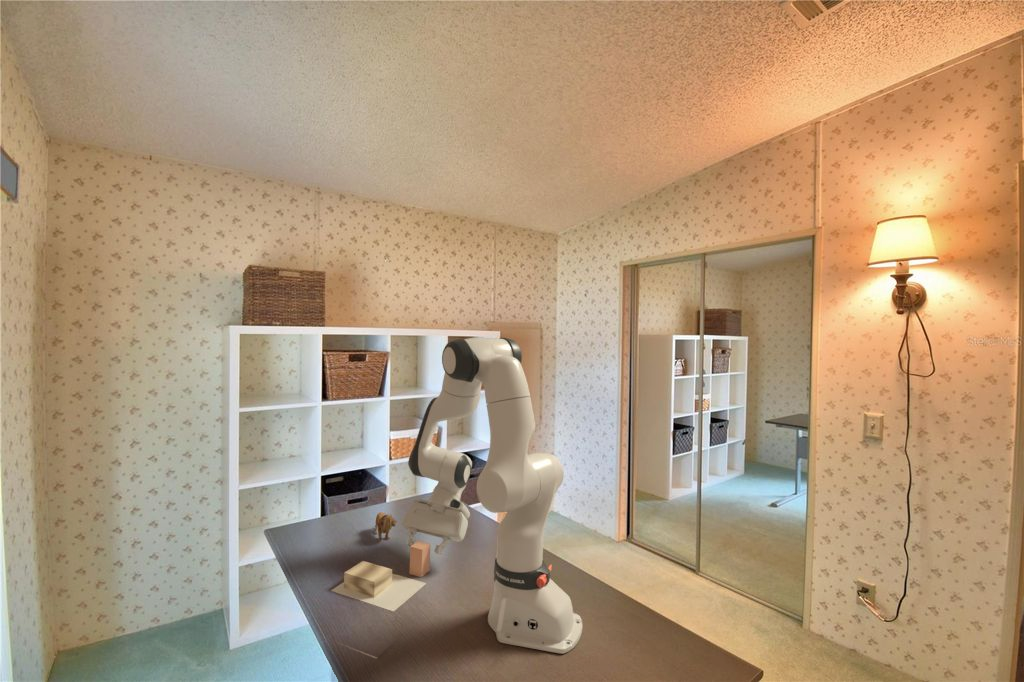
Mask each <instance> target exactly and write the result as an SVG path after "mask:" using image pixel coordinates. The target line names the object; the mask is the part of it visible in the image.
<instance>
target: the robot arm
mask: <svg viewBox="0 0 1024 682" xmlns="http://www.w3.org/2000/svg"><path fill="white" fill-rule="evenodd" d="M522 357H523V355H522V350H521V348H520V346H519V344H518V343H517V341H516V340H513V339H511V338H507V337H498V338H497V337H484V336H479V337H478V336H477V337H469V338H465V339H464V338H458V339H454V340H452V341H449V342H448V343H446V345H445V346H444V349H443V350H442V355H441V362H442V363H441V364H442V368H443V371H444V375H443V379H442V386H441V391H440V393H439V394H438V396H436V397H433V398H432V399H431V400H430V402H429V403H428V405H427V407H426V409H425V411H424V415H423V417H422V421H421V423H420V427H419V431H418V434H417V436H416V439H415V441H414V442H415V443H414V445H413V448H412V450H411V452H410V454H409V458H408V463H407V464H408V467H409V470H410V472H411V473H412V475H413V476H415V477H416V476H417V477H421V478H427V479H430V480H433V481H436V482H437V484H436V486H435V487H434V488H433V490H432V493H431V495H430V496H429V497H430V498H429V499H428V500H425V499H422V498H418V499H415V500H413V501H412V502H411V505H409V508H408V509H407V510H406V512H405V514H404V515H403V517H402V520H401V525H402V526H403V528H405V530H408V539H407V542H406V545H407V546H409V547H410V546H412V545H413V544H415V543H416V542H417V541H416V540H415V539H414V536H415V535H416V534H417V533H421V534H424V535H427V536H428V535H429V536H433V537H436V538H441V539H442V541H441V542H440V543H439V544H436V546H435V548H434V551H433V552H434V553H435V554H438V555H441V554H442V553H443V550H444V549H445V548H446V547H448V545H450V542H451V541H453V542H457V543H460V542H462V541H464V539H465V536H466V533H467V530H468V525H469V521H468V519H469V518H470V516H471V513H470V510H469V509H468V507H467V506H466V505H465V504H464V503H463V502H462V501H461V497H462V493H463V492H464V490H465V488H466V486H467V485H468V482H469V480H470V477H471V474H472V468H473V467H472V466H473V461H472V460H471V458H470V457H469V456H468V455H467V454H465V453H462V452H457V451H453V450H450V449H447V448H443V447H439V446H436V445H435V444H434V443H433V440H434V439H433V437H434V435H435V432H436V429H437V426H438V423H441V422H444V421H456V420H460V419H463V418H466V417H469V416H470V415H471V414H473V413H474V412H475V411H476V409H477V408H478V404H479V402H480V396H481V391H482V385H483V389H484V396H485V404H486V410H487V411H486V412H487V417H488V423H489V435H490V441H489V451H488V454H487V455H488V456H487V459H486V462H485V465H484V468H483V470H482V471H481V473H480V474H479V475H478V478H477V482H476V495H477V498H478V501H479V502H480V504H481V505H482V507H483V508H484V509H485V510H487V511H488V512H490V513H493V514H499V513H500V514H501V513H505V515H504V517H503V518H502V520H501V521H500V522H499V525H498V528H497V537H496V539H497V540H496V543H497V544H496V557H495V560H494V566H493V582H494V590H493V595H492V600H491V605H490V608H489V612H488V615H487V623H488V625H489V627H490V628H491V630H493V631H494V632H495V635H496V639H497V641H498V642H499V643H502V644H507V645H512V646H516V647H517V646H518V647H523V648H529V649H533V650H534V649H535V650H540V651H545V652H550V653H556V654H566V653H568V652H570V651H572V649H573V648H575V647H576V645H577V644H578V642H579V640H580V639H581V636H582V634H583V633H582V632H583V620H582V618H581V616H580V615H579V614H577V613H575V612H574V608H573V604H572V600H571V597H570V596H569V595H568V594H567V593H566V592H565V591H564V590H563V589H562V588H561V587H560V586H558V584H556V583H555V582H554V580H552V579H551V571H552V567H553V565H552V564H550V565H549V566H547V564H546V563H545V562H544V559H543V556H544V554H543V553H544V542H545V541H544V538H545V530H546V524H547V521H548V517H549V514H550V509H551V506H552V503H553V501H554V498H555V495H556V493H557V492H558V491H559V488H560V487H561V485H562V484H563V482H564V478H565V475H564V473H565V472H564V468H563V465H562V463H561V462H560V460H559V459H558V457H556V456H555V455H553V454H552V453H546V452H533V453H529V452H528V451H529V445H530V440H531V438H532V436H533V435H534V434H535V430H536V426H537V425H536V420H535V415H534V414H535V413H534V409H533V404H532V399H531V394H530V388H529V384H528V380H527V377H526V374H525V372H524V368H523V366H522ZM528 453H529V454H528Z"/></svg>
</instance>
